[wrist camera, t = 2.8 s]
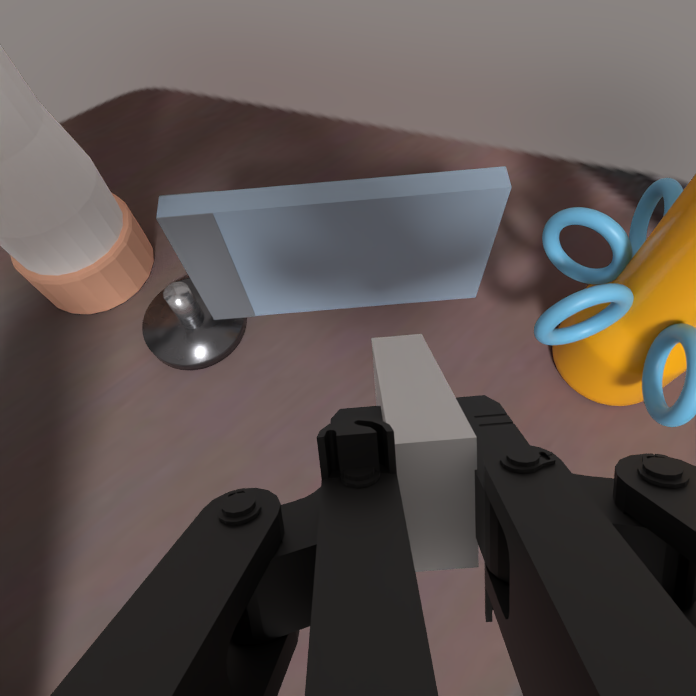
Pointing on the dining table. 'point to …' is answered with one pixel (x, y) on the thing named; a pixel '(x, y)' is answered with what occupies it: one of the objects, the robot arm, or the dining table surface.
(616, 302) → the tube with blue loops
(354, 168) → the dining table surface
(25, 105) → the pepper shaker
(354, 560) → the robot arm
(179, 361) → the shiny grey rounded piece
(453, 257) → the light blue rectangular panel
